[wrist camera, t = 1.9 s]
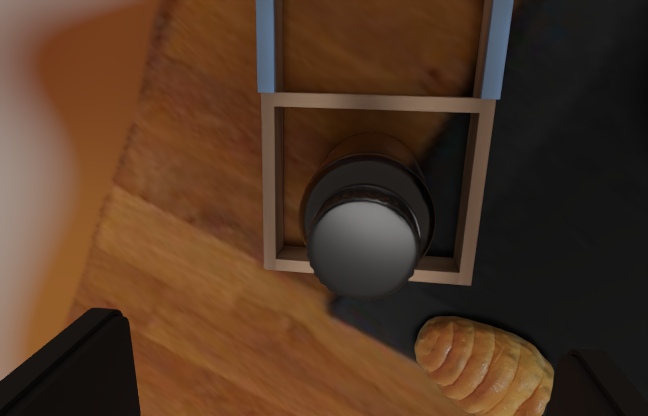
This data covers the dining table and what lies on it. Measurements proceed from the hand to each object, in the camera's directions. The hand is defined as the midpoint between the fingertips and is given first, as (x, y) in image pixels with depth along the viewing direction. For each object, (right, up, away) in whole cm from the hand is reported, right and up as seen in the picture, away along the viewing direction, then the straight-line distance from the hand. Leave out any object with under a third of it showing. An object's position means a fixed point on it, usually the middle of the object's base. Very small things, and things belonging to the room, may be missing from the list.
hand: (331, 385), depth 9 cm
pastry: (+12, -7, +23) cm, 27 cm away
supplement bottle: (+3, +6, +20) cm, 21 cm away
